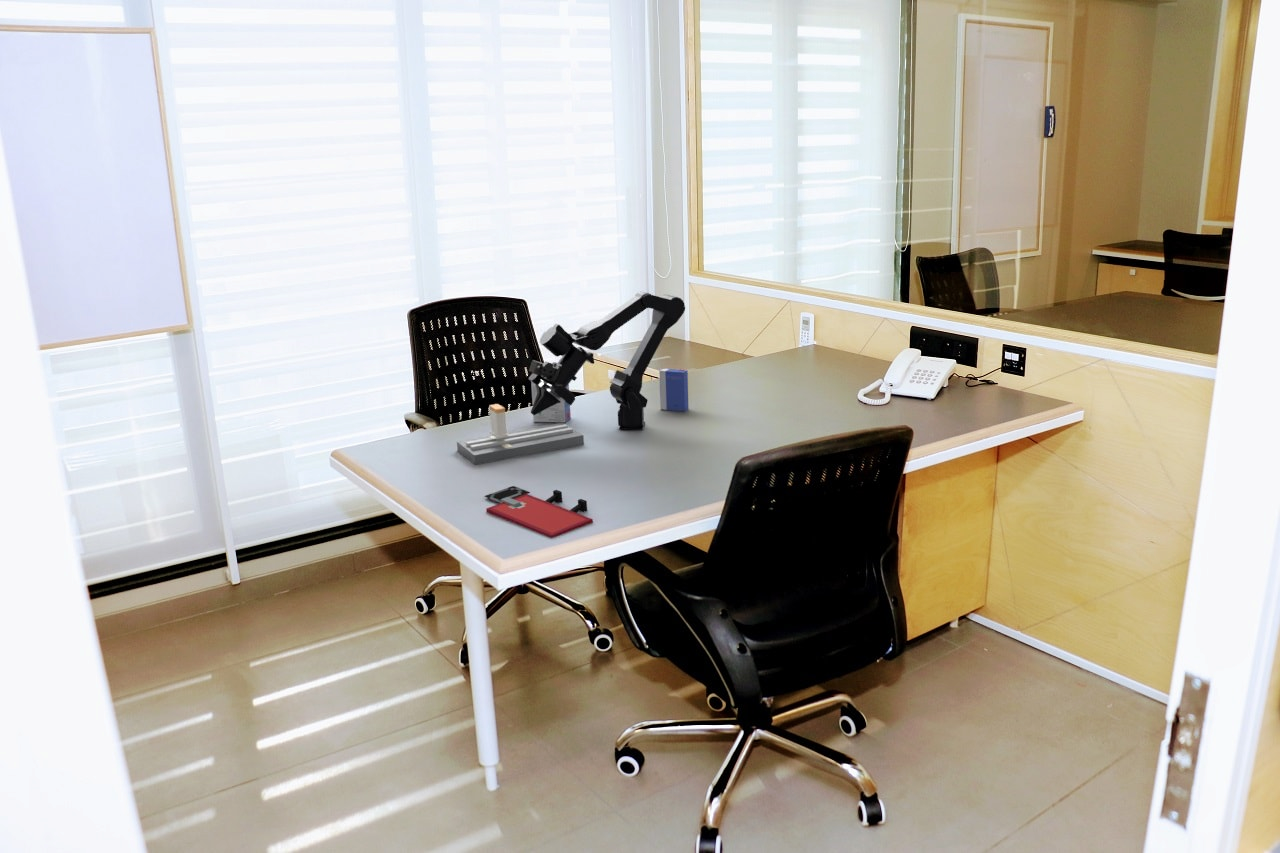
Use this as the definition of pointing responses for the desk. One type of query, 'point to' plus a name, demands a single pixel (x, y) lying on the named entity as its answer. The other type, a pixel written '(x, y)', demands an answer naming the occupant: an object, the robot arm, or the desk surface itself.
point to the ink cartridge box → (552, 410)
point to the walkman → (674, 389)
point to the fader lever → (498, 421)
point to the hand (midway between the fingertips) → (532, 414)
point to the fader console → (519, 443)
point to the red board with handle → (537, 511)
